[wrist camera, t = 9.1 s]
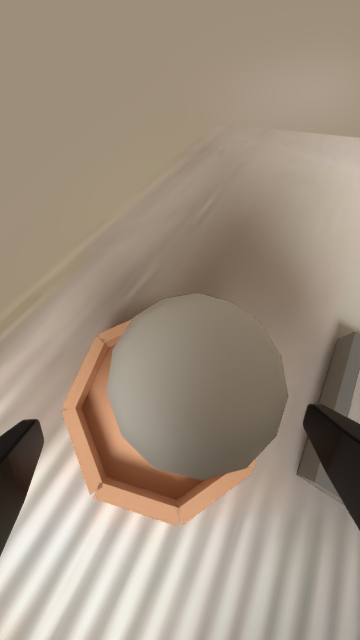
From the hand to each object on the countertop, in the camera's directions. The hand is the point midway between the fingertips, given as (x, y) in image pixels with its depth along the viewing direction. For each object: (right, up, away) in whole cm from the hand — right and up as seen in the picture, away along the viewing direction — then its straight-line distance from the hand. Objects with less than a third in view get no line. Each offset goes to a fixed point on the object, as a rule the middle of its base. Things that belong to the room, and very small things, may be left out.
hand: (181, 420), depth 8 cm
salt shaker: (-1, -3, +9) cm, 10 cm away
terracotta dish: (-1, -3, +10) cm, 10 cm away
